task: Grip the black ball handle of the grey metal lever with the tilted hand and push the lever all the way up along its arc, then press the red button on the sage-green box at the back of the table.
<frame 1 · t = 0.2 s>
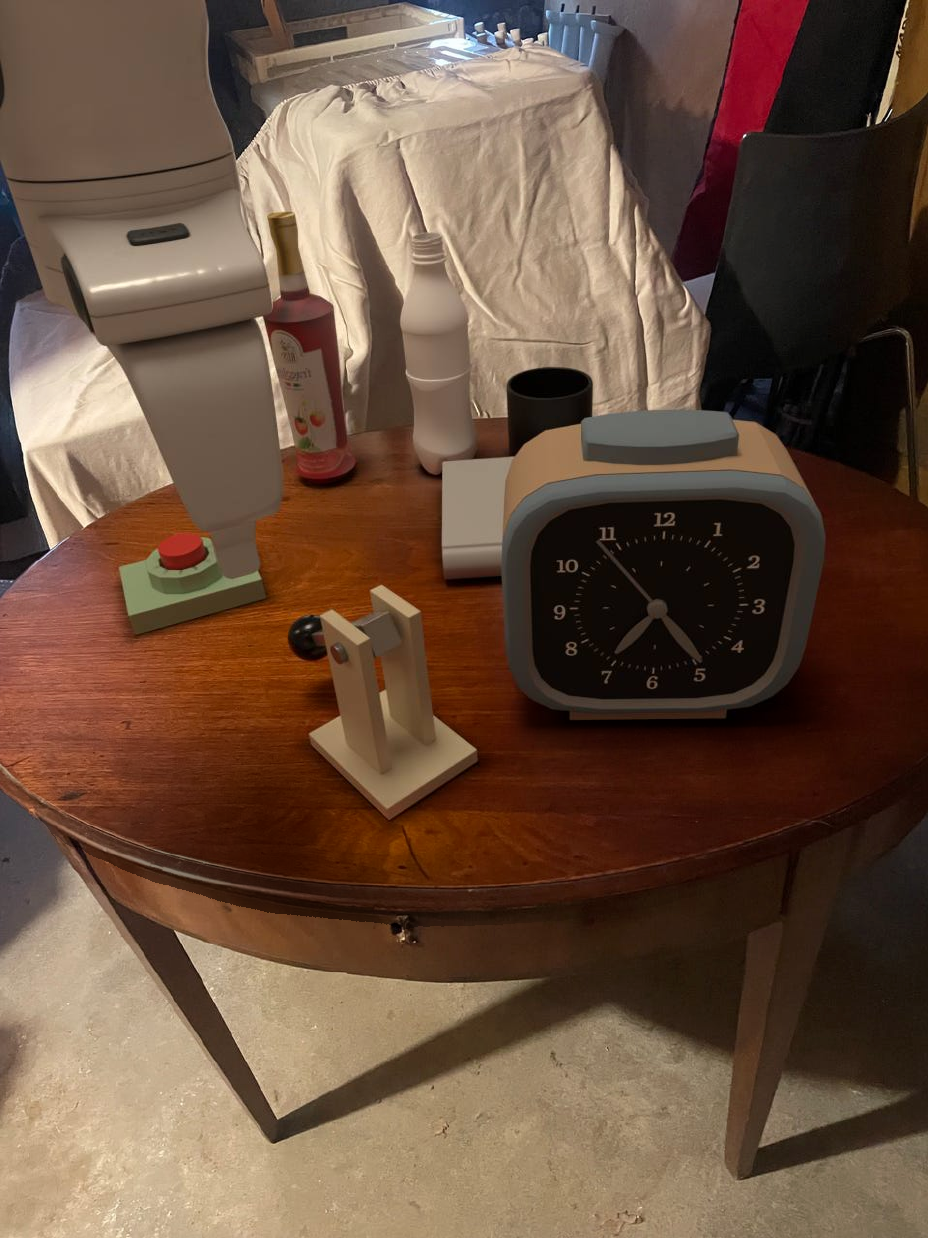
hand: (218, 526, 45), 24 cm above the table, tool pointing down, fingers open, 8 cm apart
liquor: (327, 476, 101), on the table
alarm clock: (641, 688, 69), on the table
mug: (544, 455, 102), on the table
water bottle: (447, 467, 101), on the table
button: (182, 552, 81), point 4 cm above the table, slide at 0.1 cm
lever: (339, 636, 63), point 8 cm above the table, hinge at -30.0°
button box: (194, 591, 84), on the table
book: (563, 530, 88), on the table
bracket: (392, 753, 64), on the table
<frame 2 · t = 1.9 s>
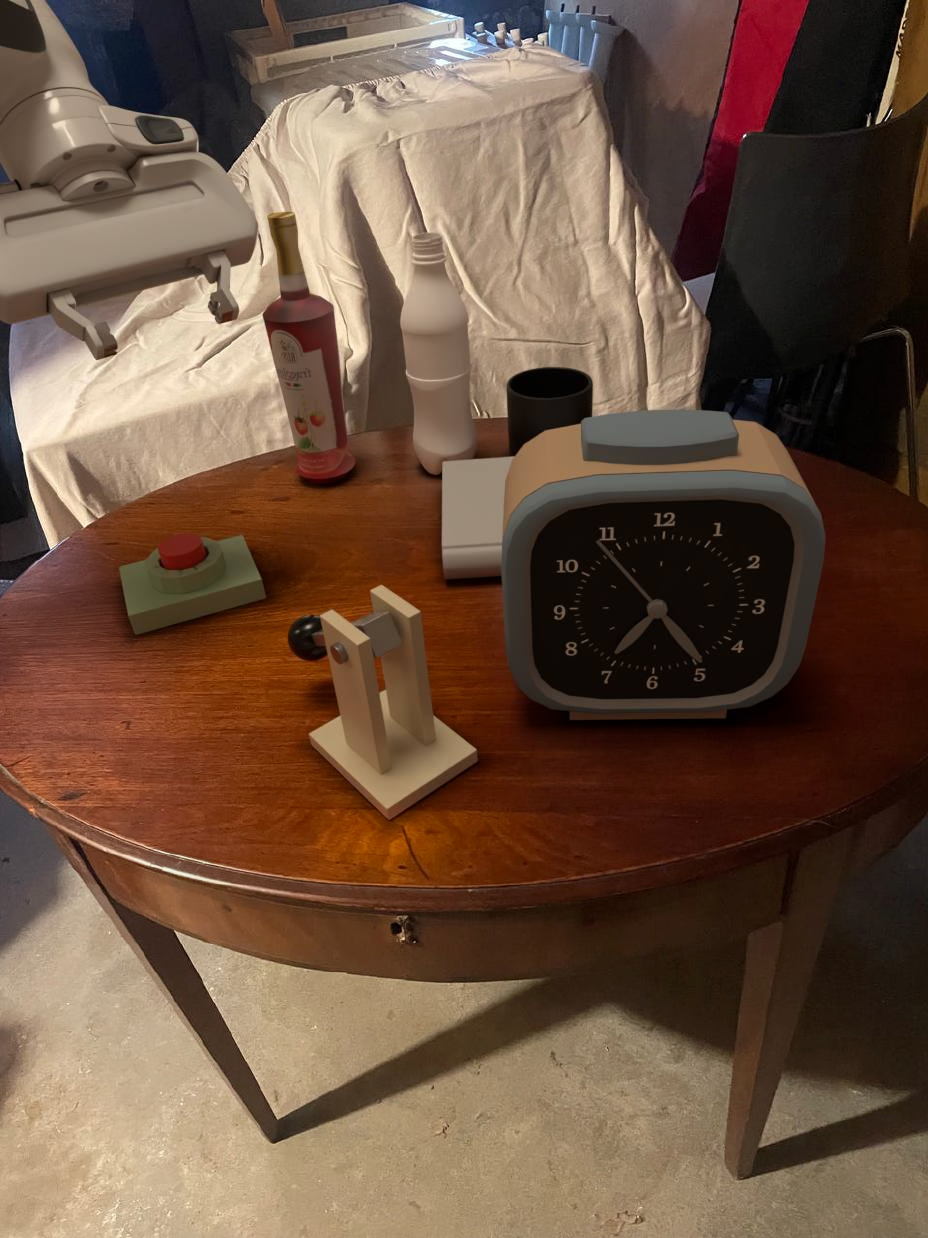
hand: (170, 334, 63), 26 cm above the table, tool tilted 45°, fingers open, 8 cm apart
nothing on the table moved.
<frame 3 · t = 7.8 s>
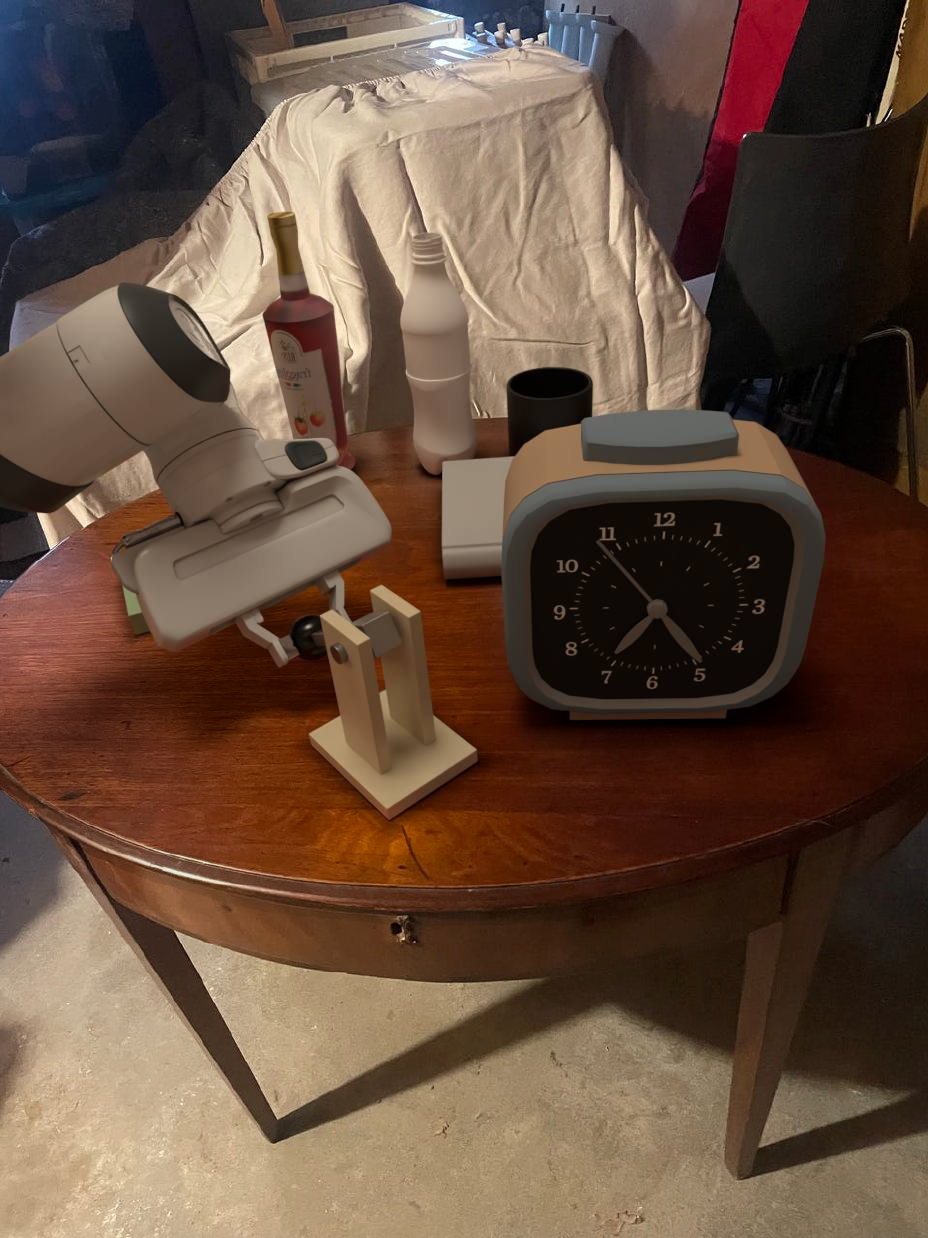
hand: (317, 647, 67), 5 cm above the table, tool tilted 45°, fingers closed on lever, 3 cm apart
lever: (339, 636, 63), point 8 cm above the table, hinge at -29.9°, touching gripper
everything else where it was.
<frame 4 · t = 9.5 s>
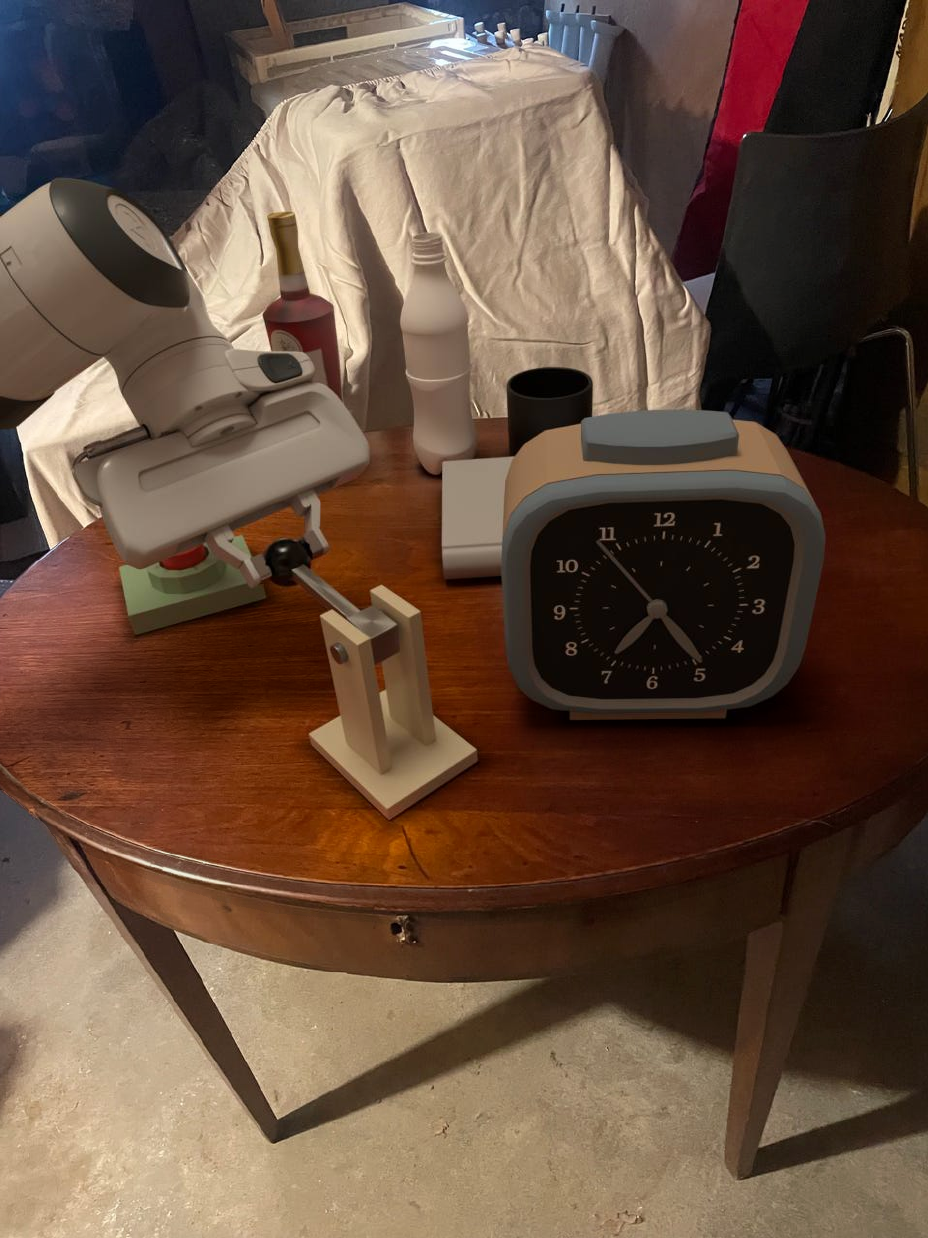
hand: (291, 568, 64), 11 cm above the table, tool tilted 45°, fingers closed on lever, 3 cm apart
lever: (326, 595, 61), point 11 cm above the table, hinge at 4.0°, touching gripper
everything else where it was.
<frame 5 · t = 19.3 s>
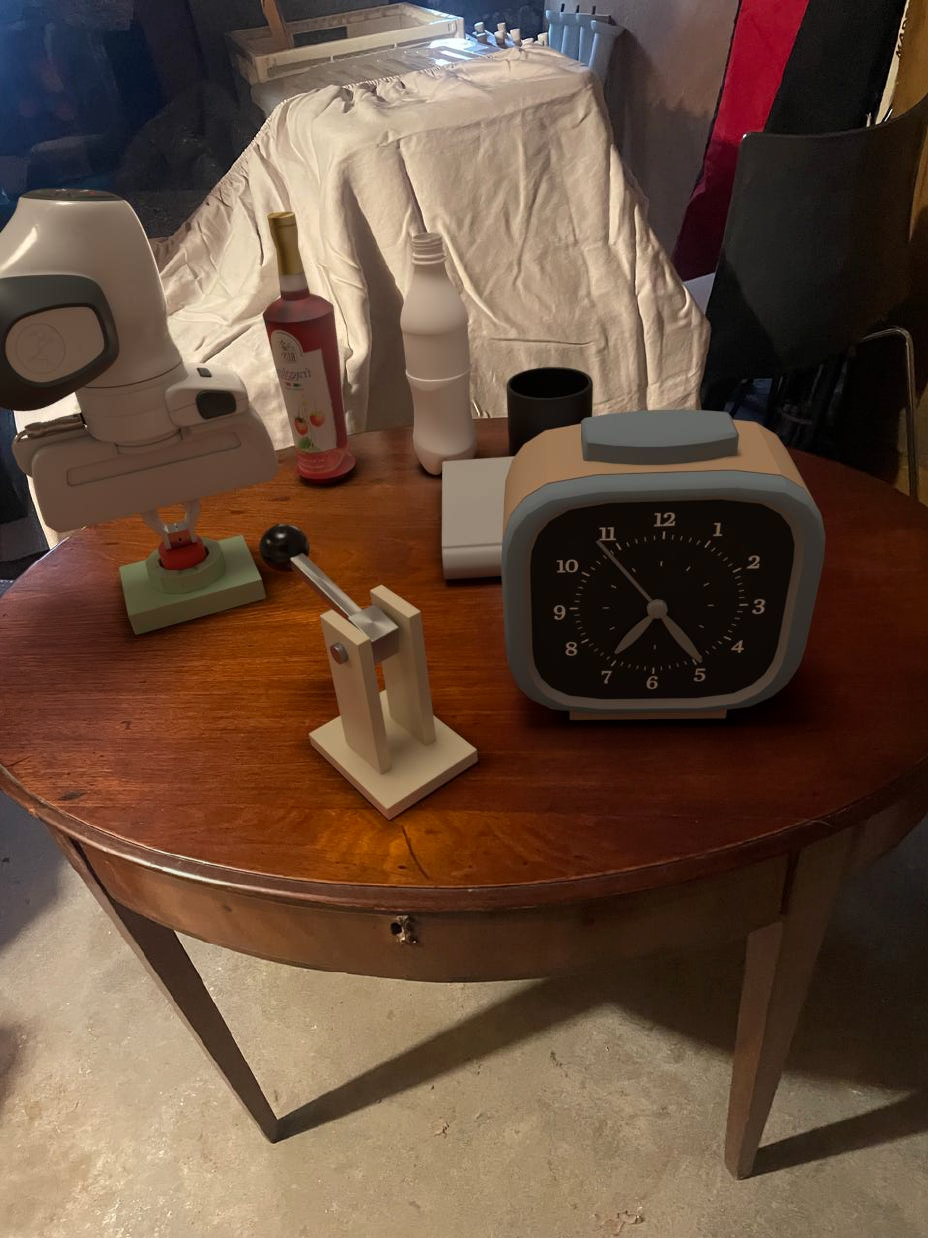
hand: (181, 543, 80), 5 cm above the table, tool pointing down, fingers closed, pressing on button
button: (182, 552, 81), point 4 cm above the table, slide at 0.1 cm, touching gripper
lever: (325, 588, 61), point 12 cm above the table, hinge at 10.5°
everything else where it was.
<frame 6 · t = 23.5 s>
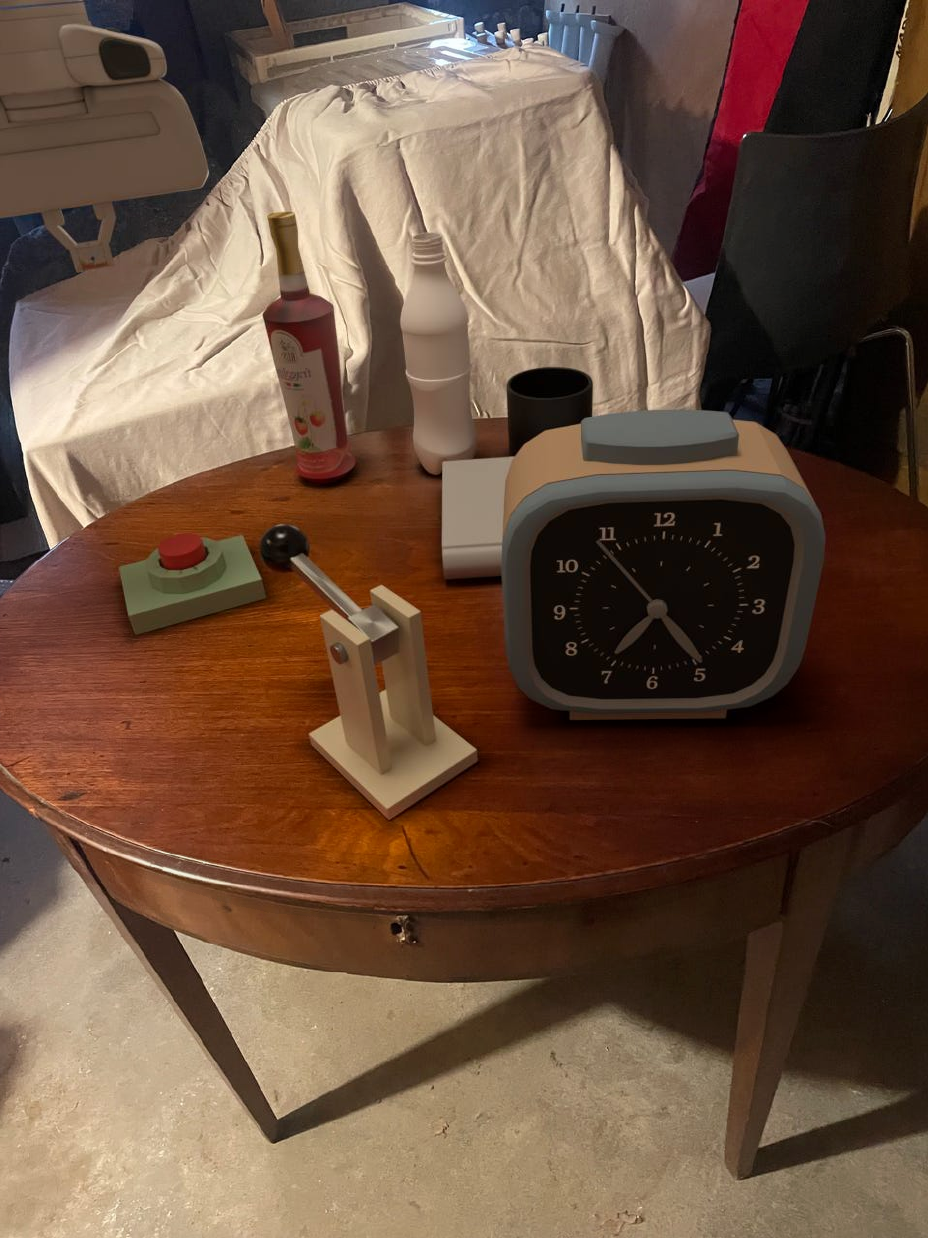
hand: (95, 267, 69), 29 cm above the table, tool pointing down, fingers closed
button: (182, 552, 81), point 4 cm above the table, slide at 0.1 cm
everything else where it was.
at the end: lever reached +29° during the clip, +10° at the end; button pushed in 1.0 cm at the most during the clip, back to where it started at the end; button slide at 0.1 cm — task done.
